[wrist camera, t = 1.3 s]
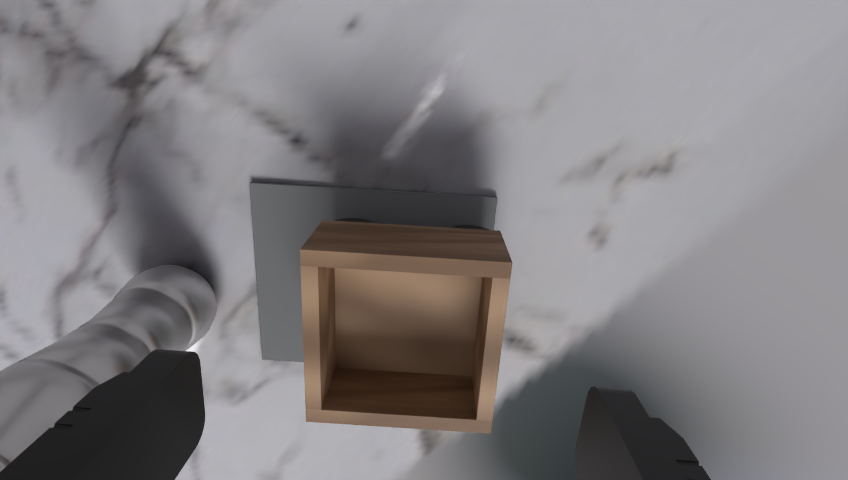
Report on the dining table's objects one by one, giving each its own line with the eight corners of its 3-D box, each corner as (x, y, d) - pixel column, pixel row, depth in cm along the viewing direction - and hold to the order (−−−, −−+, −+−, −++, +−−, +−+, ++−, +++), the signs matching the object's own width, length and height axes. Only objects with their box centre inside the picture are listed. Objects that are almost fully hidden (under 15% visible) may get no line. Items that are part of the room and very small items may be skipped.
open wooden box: (331, 208, 35) (299, 249, 27) (495, 218, 34) (512, 262, 27) (333, 349, 39) (306, 421, 31) (479, 359, 39) (490, 433, 31)
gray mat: (251, 181, 35) (249, 183, 34) (496, 196, 35) (497, 198, 34) (263, 356, 40) (262, 359, 39) (477, 370, 40) (477, 373, 39)
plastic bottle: (151, 243, 37) (-153, 426, 18) (236, 274, 37) (29, 481, 18) (136, 311, 39) (-150, 540, 20) (217, 339, 39) (14, 586, 21)
